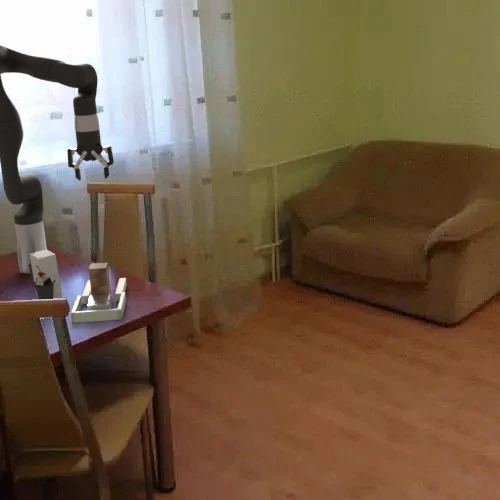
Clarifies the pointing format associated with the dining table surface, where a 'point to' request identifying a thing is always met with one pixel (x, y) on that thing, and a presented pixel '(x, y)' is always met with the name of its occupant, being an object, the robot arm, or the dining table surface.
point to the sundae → (44, 286)
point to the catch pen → (97, 312)
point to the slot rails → (120, 289)
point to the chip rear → (100, 297)
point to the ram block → (99, 279)
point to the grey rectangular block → (99, 304)
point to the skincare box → (46, 268)
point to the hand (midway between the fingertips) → (92, 179)
